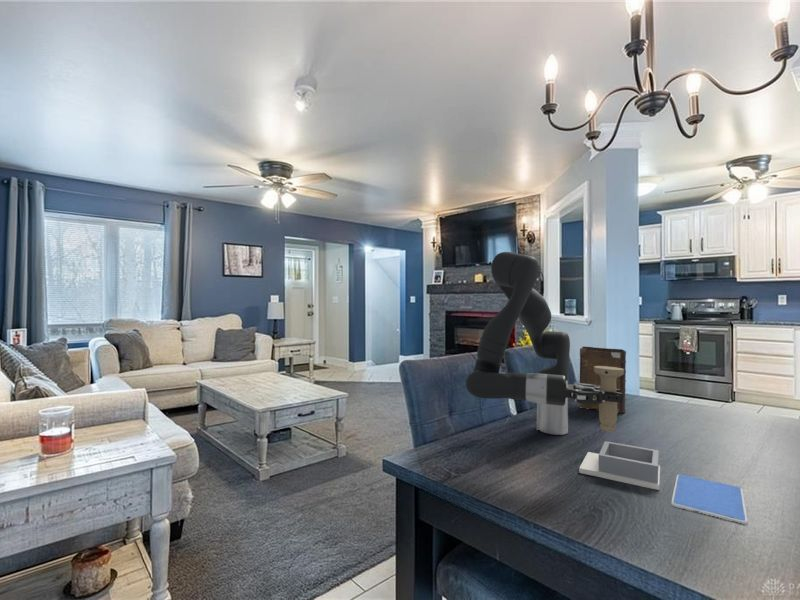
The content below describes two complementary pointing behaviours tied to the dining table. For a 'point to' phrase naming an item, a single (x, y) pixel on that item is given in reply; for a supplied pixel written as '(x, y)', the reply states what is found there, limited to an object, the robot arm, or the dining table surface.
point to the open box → (624, 464)
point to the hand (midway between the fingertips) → (621, 395)
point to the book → (602, 358)
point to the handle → (608, 384)
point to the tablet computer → (709, 498)
